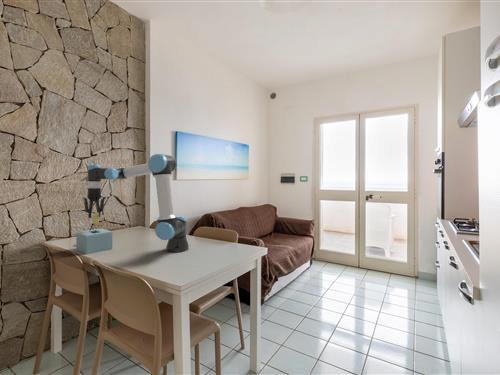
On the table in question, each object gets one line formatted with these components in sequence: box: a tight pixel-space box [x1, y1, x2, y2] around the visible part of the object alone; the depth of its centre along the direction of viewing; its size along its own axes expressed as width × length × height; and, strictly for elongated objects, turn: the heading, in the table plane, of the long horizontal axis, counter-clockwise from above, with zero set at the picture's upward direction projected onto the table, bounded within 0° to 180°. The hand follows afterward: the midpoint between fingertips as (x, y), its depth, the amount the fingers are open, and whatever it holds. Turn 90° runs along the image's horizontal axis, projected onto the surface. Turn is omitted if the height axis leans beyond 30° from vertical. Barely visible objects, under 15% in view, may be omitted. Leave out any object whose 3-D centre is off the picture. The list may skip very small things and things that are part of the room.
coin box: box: [75, 228, 113, 255], centre depth 176 cm, size 16×16×12 cm
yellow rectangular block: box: [91, 212, 100, 225], centre depth 175 cm, size 6×3×6 cm, turn 54°
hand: (94, 222), depth 175 cm, fingers closed on yellow rectangular block, 3 cm apart
